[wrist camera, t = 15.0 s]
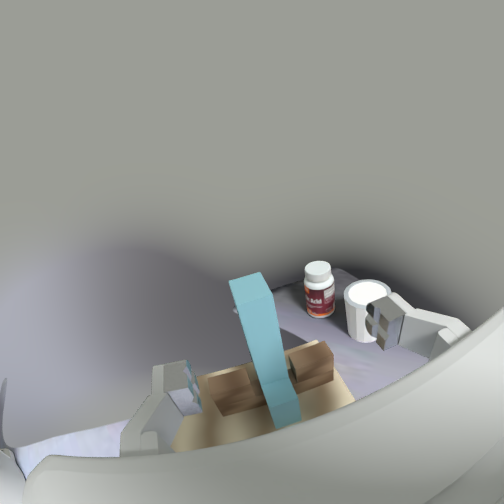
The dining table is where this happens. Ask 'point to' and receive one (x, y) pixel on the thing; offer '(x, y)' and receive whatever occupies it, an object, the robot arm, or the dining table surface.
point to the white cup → (362, 306)
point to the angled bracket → (266, 347)
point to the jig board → (252, 419)
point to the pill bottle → (319, 289)
